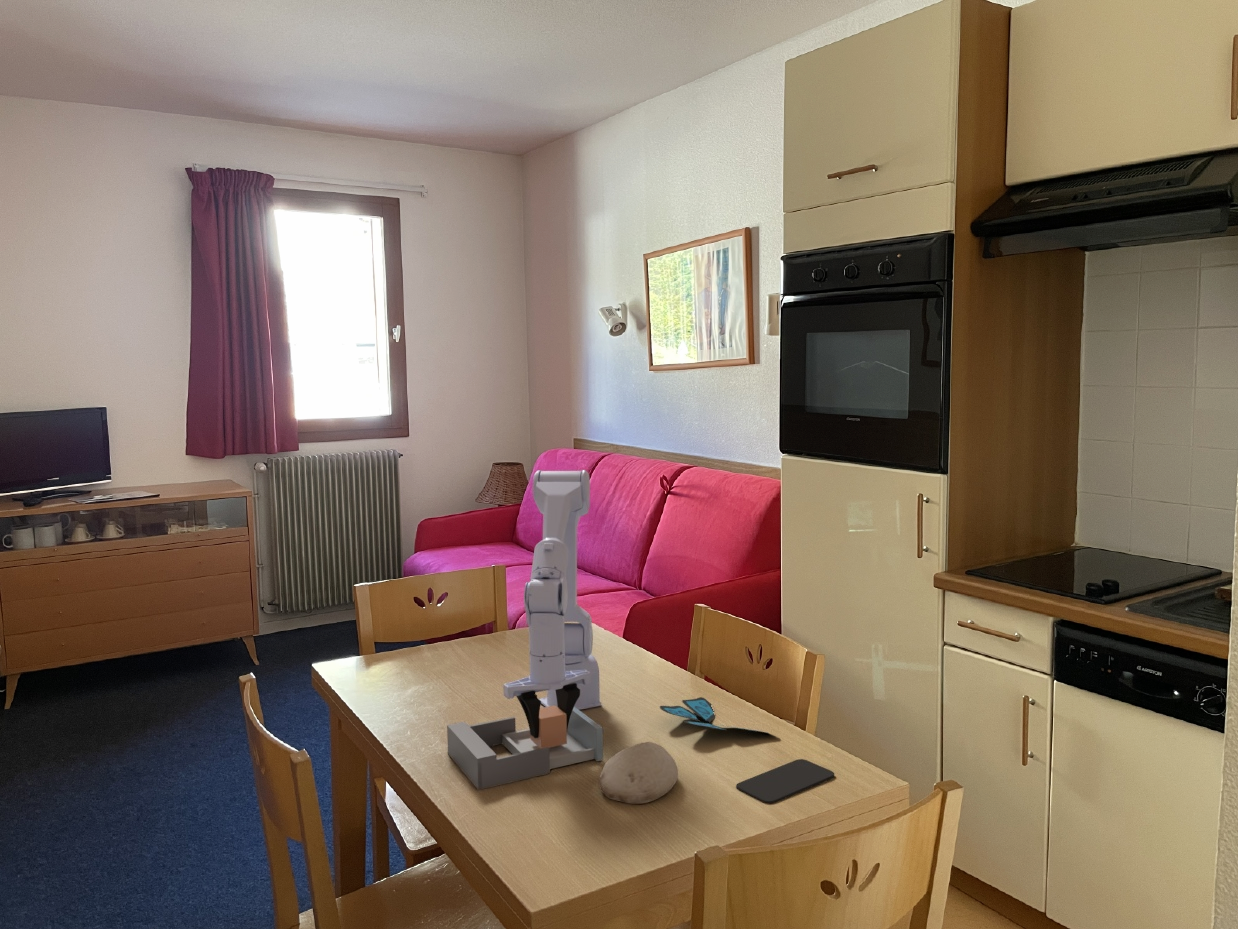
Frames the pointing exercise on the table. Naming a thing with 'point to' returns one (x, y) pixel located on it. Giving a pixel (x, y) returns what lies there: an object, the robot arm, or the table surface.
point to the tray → (579, 747)
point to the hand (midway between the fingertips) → (548, 733)
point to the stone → (639, 774)
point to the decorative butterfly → (698, 707)
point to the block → (551, 727)
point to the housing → (492, 754)
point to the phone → (785, 781)
